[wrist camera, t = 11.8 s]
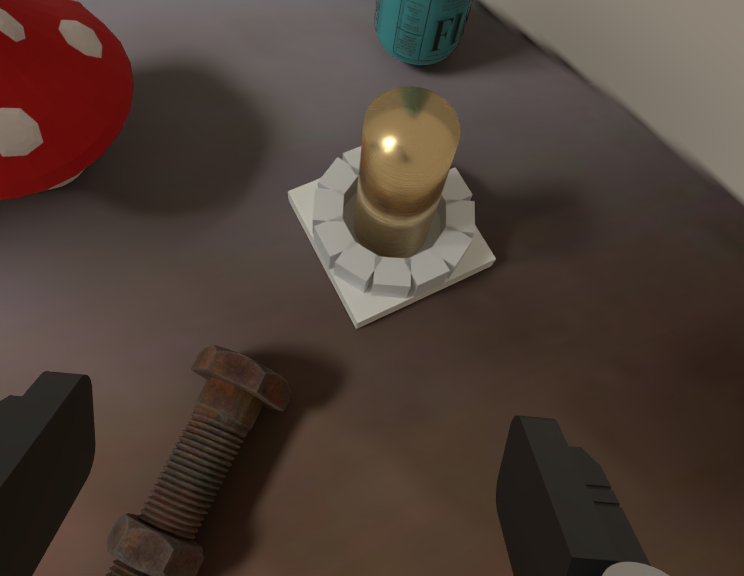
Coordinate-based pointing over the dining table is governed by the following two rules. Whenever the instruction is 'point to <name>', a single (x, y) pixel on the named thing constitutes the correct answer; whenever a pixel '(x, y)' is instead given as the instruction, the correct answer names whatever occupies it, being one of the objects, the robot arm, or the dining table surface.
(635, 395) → the dining table surface
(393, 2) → the beverage bottle
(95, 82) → the decorative mushroom
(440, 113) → the cylinder
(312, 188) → the seat block
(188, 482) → the bolt
